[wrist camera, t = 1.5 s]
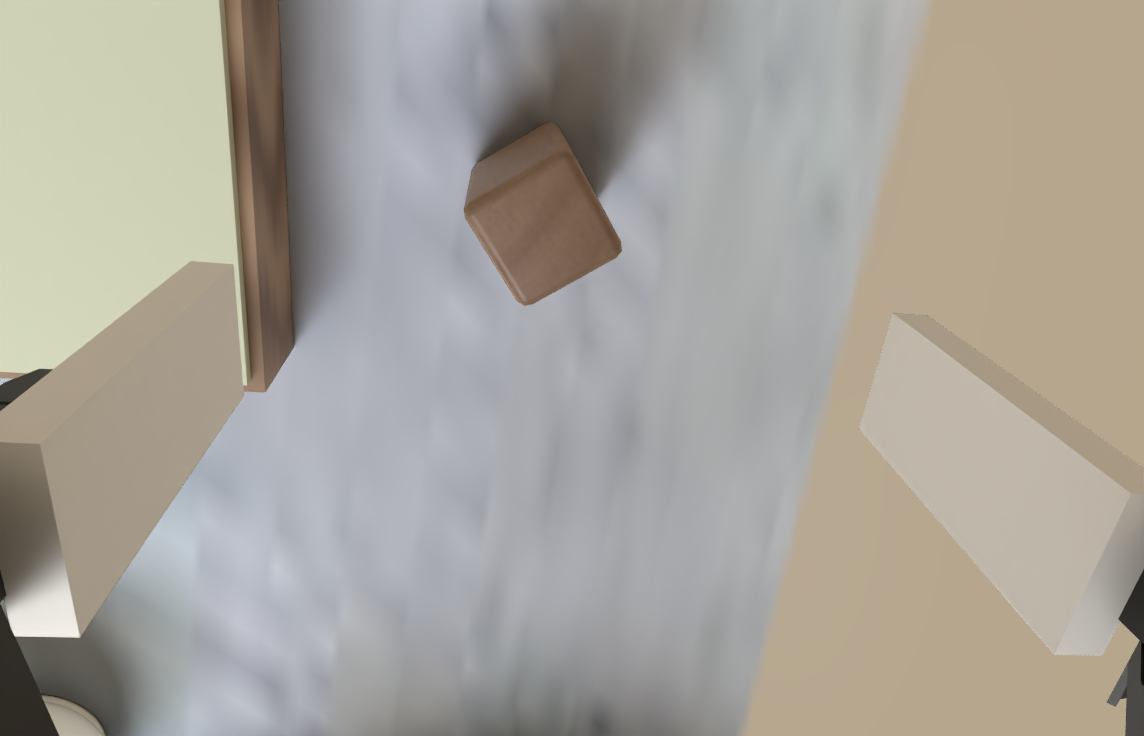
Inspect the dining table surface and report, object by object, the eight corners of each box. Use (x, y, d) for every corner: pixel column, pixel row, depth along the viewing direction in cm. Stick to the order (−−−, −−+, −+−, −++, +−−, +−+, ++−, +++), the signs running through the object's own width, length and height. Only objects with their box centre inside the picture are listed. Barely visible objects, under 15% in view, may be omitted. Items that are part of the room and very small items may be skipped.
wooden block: (599, 203, 32) (628, 255, 25) (517, 249, 33) (522, 313, 26) (553, 116, 31) (569, 145, 23) (467, 167, 31) (458, 210, 24)
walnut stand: (293, 347, 34) (261, 398, 29) (-1, 329, 32) (-82, 379, 28) (271, -131, 27) (225, -162, 22) (-108, -182, 25) (-242, -226, 21)
